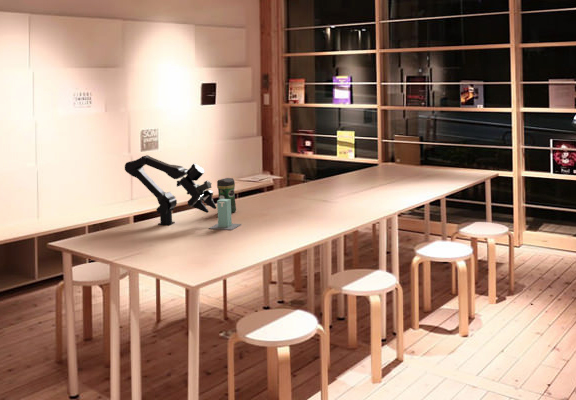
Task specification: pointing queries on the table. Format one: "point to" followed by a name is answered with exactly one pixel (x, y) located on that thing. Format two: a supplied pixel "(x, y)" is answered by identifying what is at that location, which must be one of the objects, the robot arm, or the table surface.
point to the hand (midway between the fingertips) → (211, 210)
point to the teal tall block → (224, 212)
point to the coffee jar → (227, 191)
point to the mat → (225, 227)
